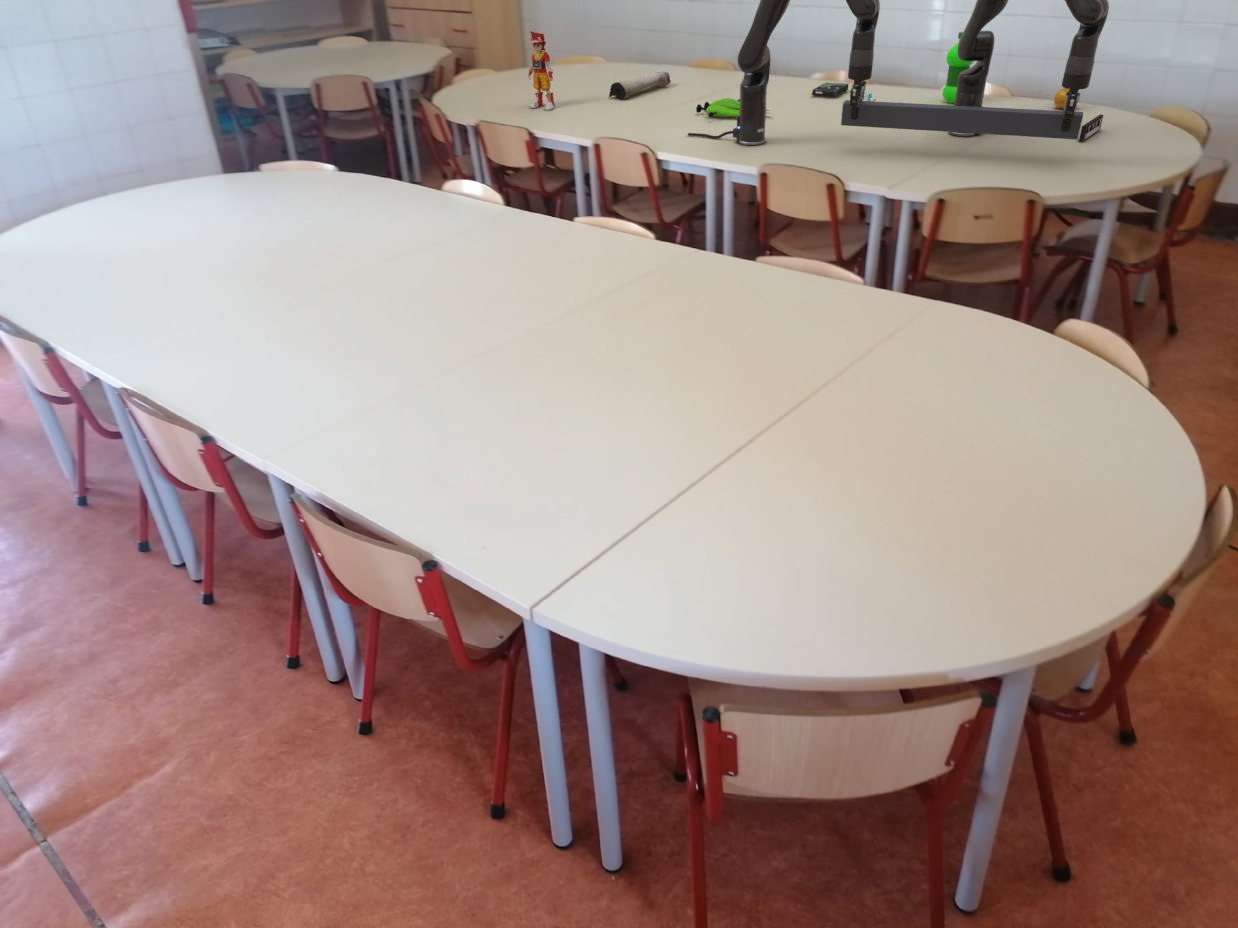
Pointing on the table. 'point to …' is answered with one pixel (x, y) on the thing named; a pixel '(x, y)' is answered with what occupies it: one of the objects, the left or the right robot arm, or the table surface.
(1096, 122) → the midi keyboard
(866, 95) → the anatomical model
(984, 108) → the post
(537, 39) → the toy
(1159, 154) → the table surface
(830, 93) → the disk drive
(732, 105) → the toy
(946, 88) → the plastic bottle
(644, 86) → the rolled mat
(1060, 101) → the fruit
